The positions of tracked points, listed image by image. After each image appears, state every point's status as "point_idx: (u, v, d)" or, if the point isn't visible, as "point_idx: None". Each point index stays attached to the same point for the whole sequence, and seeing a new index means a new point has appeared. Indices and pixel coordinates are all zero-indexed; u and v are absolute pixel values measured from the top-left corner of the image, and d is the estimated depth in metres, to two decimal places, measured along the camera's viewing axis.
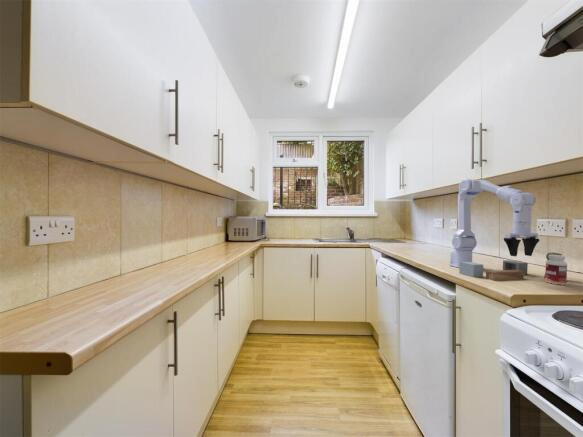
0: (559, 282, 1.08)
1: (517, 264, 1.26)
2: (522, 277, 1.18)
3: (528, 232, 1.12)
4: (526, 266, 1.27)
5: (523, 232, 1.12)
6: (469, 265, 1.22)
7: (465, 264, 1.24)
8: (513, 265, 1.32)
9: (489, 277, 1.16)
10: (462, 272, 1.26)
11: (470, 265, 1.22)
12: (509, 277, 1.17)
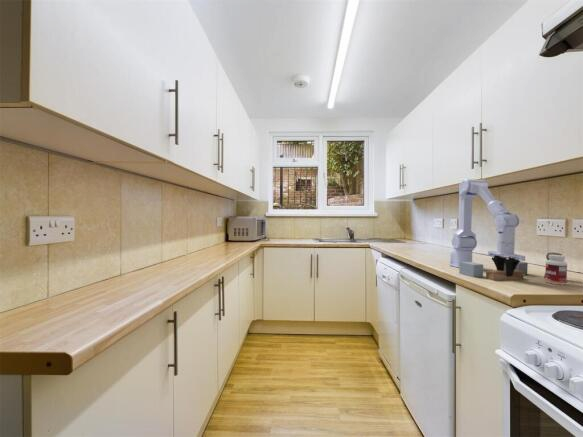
0: (559, 282, 1.08)
1: None
2: (522, 277, 1.18)
3: (499, 252, 1.17)
4: (526, 266, 1.27)
5: (497, 251, 1.19)
6: (469, 265, 1.22)
7: (465, 264, 1.24)
8: None
9: (489, 277, 1.16)
10: (462, 272, 1.26)
11: (470, 265, 1.22)
12: (509, 277, 1.17)
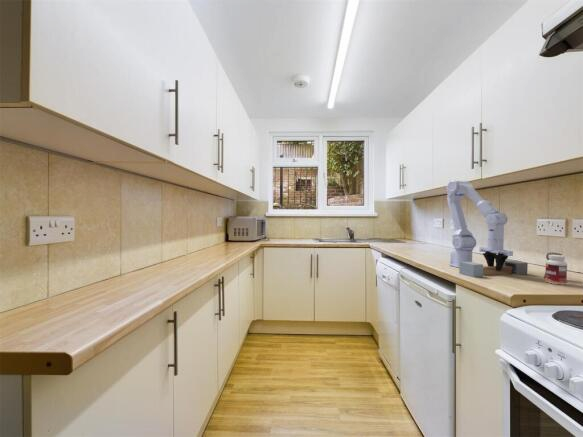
0: (559, 282, 1.08)
1: (517, 264, 1.26)
2: (510, 272, 1.27)
3: (490, 248, 1.27)
4: (526, 266, 1.27)
5: None
6: (469, 265, 1.22)
7: (465, 264, 1.24)
8: (513, 265, 1.32)
9: None
10: (462, 272, 1.26)
11: (470, 265, 1.22)
12: (498, 272, 1.26)
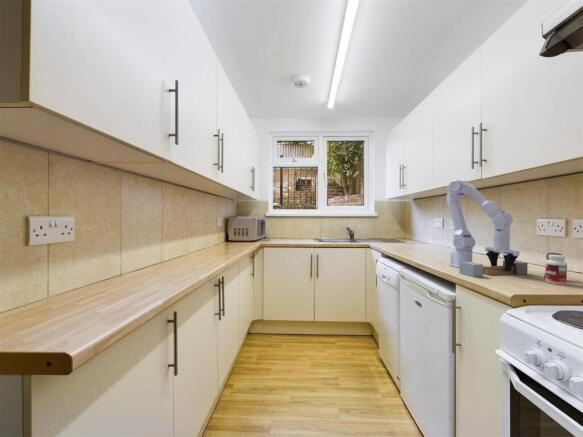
0: (559, 282, 1.08)
1: (517, 264, 1.26)
2: (514, 272, 1.28)
3: (496, 248, 1.27)
4: (526, 266, 1.27)
5: None
6: (469, 265, 1.22)
7: (465, 264, 1.24)
8: (513, 265, 1.32)
9: (484, 272, 1.26)
10: (462, 272, 1.26)
11: (470, 265, 1.22)
12: (502, 272, 1.26)
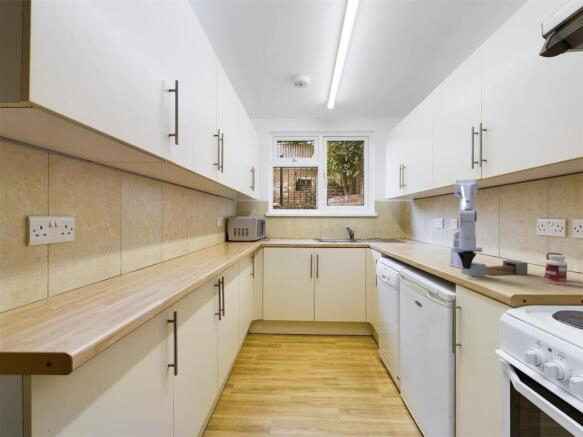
0: (559, 282, 1.08)
1: (517, 264, 1.26)
2: (514, 272, 1.28)
3: (472, 247, 1.21)
4: (526, 266, 1.27)
5: (467, 247, 1.21)
6: (472, 265, 1.22)
7: None
8: (513, 265, 1.32)
9: None
10: (465, 272, 1.26)
11: (473, 265, 1.22)
12: (502, 272, 1.26)
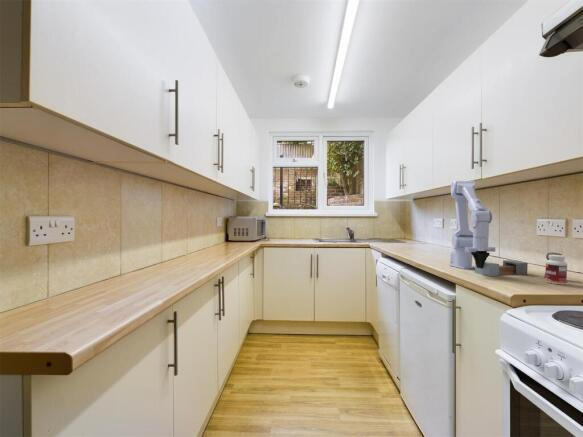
0: (559, 282, 1.08)
1: (517, 264, 1.26)
2: (515, 272, 1.28)
3: (485, 247, 1.22)
4: (526, 266, 1.27)
5: (481, 246, 1.23)
6: (485, 264, 1.24)
7: None
8: (513, 265, 1.32)
9: None
10: (478, 271, 1.28)
11: (486, 264, 1.24)
12: (503, 272, 1.26)
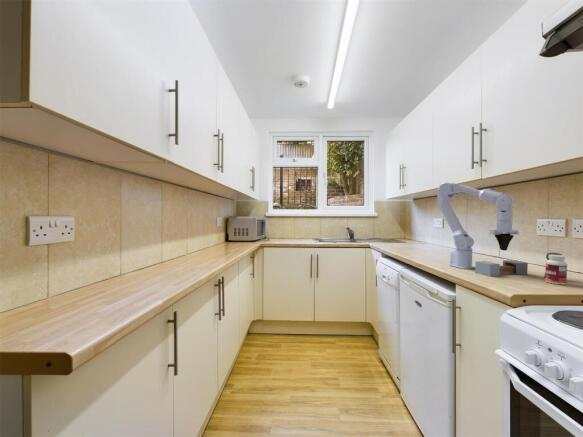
0: (559, 282, 1.08)
1: (517, 264, 1.26)
2: (515, 272, 1.28)
3: (509, 229, 1.27)
4: (526, 266, 1.27)
5: (505, 229, 1.27)
6: (485, 264, 1.24)
7: (481, 263, 1.26)
8: (513, 265, 1.32)
9: None
10: (478, 271, 1.28)
11: (487, 264, 1.24)
12: (503, 272, 1.27)
